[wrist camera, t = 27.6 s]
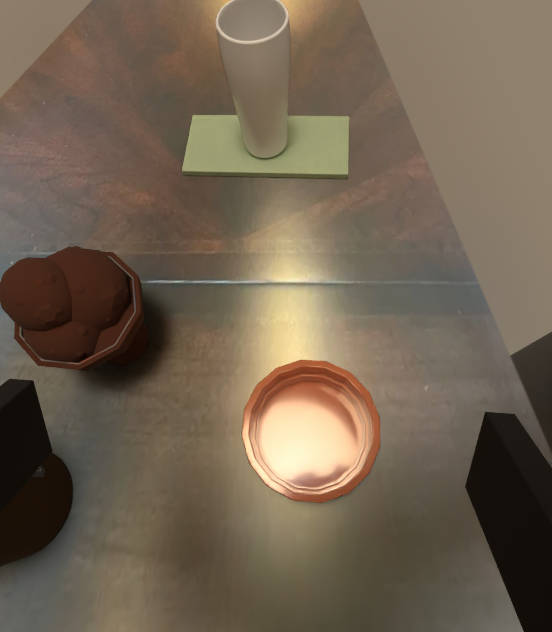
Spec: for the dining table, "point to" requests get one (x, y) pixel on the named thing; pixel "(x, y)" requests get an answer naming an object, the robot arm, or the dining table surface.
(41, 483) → the olive oil
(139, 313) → the ice cream bowl
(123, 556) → the dining table surface
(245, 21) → the drinking glass
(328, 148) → the mat
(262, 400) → the pot
